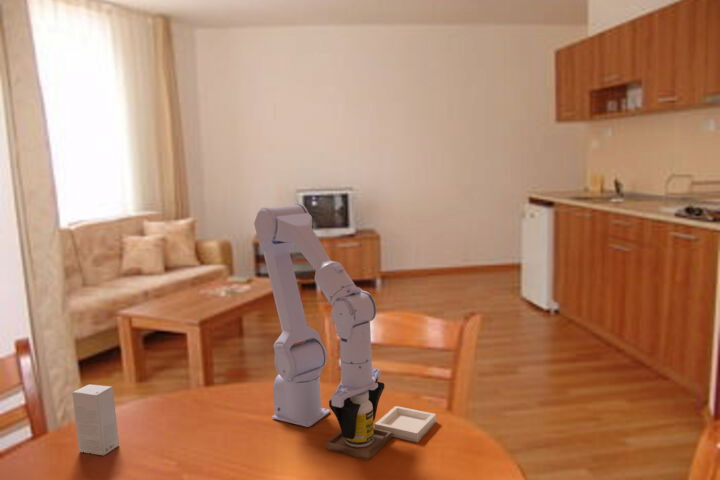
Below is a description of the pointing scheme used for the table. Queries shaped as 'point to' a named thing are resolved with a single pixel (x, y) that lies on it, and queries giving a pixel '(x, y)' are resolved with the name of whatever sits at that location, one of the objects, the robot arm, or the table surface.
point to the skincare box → (96, 419)
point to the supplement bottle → (362, 422)
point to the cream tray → (407, 423)
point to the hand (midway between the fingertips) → (359, 428)
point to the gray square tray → (362, 452)
